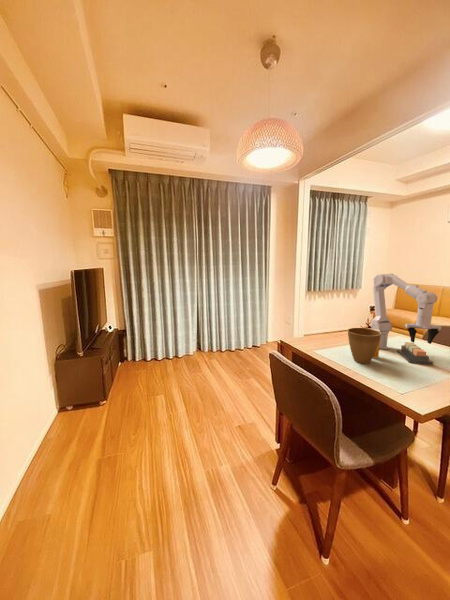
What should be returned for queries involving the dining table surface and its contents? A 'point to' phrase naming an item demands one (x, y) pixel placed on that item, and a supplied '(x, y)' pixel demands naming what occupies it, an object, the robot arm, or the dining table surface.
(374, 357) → the beer can
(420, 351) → the key terracotta
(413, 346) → the key sage
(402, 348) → the console
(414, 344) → the key ivory
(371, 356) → the plant pot
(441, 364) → the dining table surface
